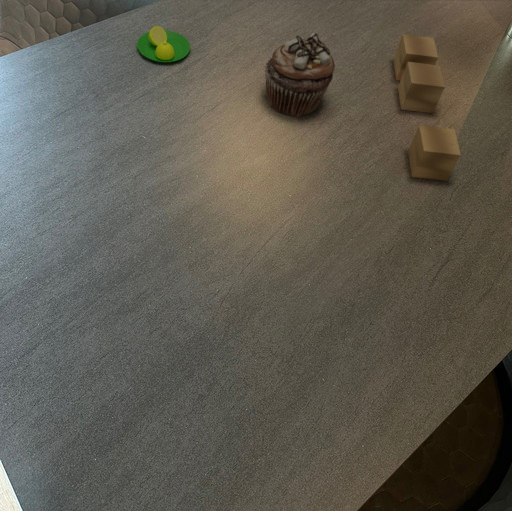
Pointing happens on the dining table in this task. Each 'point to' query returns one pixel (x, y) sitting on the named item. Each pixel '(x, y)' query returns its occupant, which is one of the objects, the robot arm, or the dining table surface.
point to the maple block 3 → (433, 153)
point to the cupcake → (298, 75)
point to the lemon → (163, 45)
